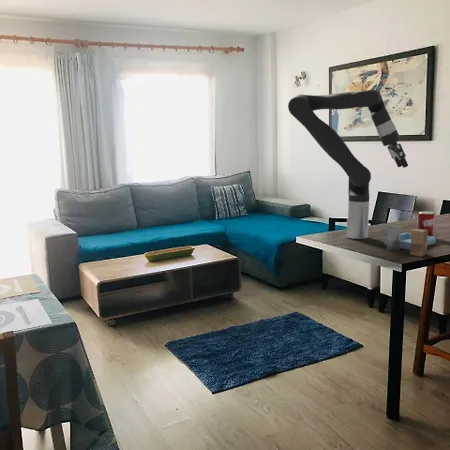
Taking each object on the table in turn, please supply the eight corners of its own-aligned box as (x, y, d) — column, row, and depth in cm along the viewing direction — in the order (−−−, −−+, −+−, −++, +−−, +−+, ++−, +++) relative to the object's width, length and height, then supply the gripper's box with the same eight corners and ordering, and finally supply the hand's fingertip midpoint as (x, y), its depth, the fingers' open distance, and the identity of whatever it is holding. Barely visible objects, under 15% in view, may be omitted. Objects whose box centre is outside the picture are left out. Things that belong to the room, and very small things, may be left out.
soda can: (412, 237, 233) (414, 211, 231) (425, 236, 235) (426, 210, 233) (424, 240, 226) (425, 214, 224) (436, 239, 229) (438, 213, 226)
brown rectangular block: (420, 256, 199) (422, 231, 197) (410, 254, 202) (411, 230, 200) (426, 254, 202) (427, 230, 200) (415, 252, 205) (417, 228, 203)
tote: (414, 250, 208) (415, 243, 207) (384, 245, 218) (384, 238, 218) (435, 243, 220) (435, 237, 219) (405, 238, 230) (405, 232, 229)
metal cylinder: (386, 250, 208) (387, 227, 207) (387, 248, 213) (388, 225, 211) (399, 251, 207) (400, 227, 205) (399, 249, 211) (401, 225, 209)
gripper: (376, 137, 224) (391, 170, 226) (383, 136, 210) (399, 171, 212) (391, 129, 223) (406, 162, 225) (400, 127, 209) (416, 163, 211)
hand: (403, 166), depth 218 cm, fingers open, 8 cm apart
